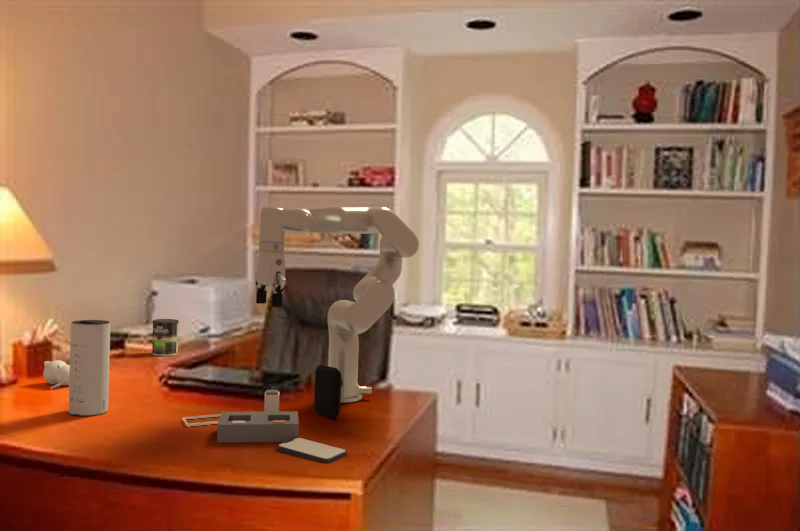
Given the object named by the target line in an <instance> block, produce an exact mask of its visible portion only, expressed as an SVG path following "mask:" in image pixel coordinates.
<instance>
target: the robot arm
mask: <svg viewBox="0 0 800 531" xmlns="http://www.w3.org/2000/svg"><path fill="white" fill-rule="evenodd" d="M259 220H260V221H259V236H258V238H259V239H258V261H257V269H256V270H257V272H256V274H255V275H254V278H255V286H256V287H255V290H256V294H255V295H256V297H255V303H256V305H257V304H260V305H261V304H262V305H263V304H266V303H267V295H268V294H267V292H268V290H267V287H271V289H272V293H271V308H281V307H282V306H283V294H284V290H285V286H286V284H287V283H286V282H287V281H286V260H285V259H286V258H285V242H286V241H285V240H286V233H288V234H289V233H291V234H303V233H321V234H322V233H324V234H331V235H351V234H353V235H354V234H355V235H359V234H360V235H363V234H364V235H365V234H366V235H368V234H371V235H372V234H380V236H381V238H380V240H379V259H378V261H377V263H376V265H374V267H373V268H372V269H371V270H370V271H369V272H367V274H366V275H365V276H364V277H362V279H360V280H359V282H357V283H356V284H355V287H354V288H353V291H352V296H353V299H354V300H355V301H353V300H352V301H351V300H348V299H341V300H337V301H335V302H334V303H333V302H332V305H331V306H330V307H329V308H328V311H327V317H326V318H327V327H328V328H327V329H328V365H327V366H330V367H334V368H337V369H338V370H339V371H340V373H341V376H342V380H343V386H341V401H340V404H342V403H346V404H347V403H355V402H358V401H361V400H362V397H363V395H362V394H372V391H373V390H372V388H373V387H371V386H370V387H369V386H368V387H367V385H365V386H360V385H359V383H358V375H359V374H358V372H359V350H360V344H359V343H360V341H359V335H360V334H363V333H365V332H366V331H367V330H369V329H370V328H371V327H373V325H374V324H375V323H377V321H378V320H379V319H380V318H381V317H382V316H383V315H384V314H385V313H386V312H387V310H389V308H390V307H391V306H392V304H393V302H394V301H395V300H394V299H395V289H394V286H393V285H394V284H395V283H396V282H397V281H398V279H399V278H400V276H401V273H402V269H403V259H406V258H411V257H413V256H414V255H416V254H417V252H418V250H419V246H420V245H419V243H420V242H419V239H418V237H417V236H416V234H415V233H414V231H413V230H411V228H410V227H409V226H407V224H406V223H405V222H404V221H403V220H402V219H401V218H400V217H399V216H398V215H397V213H395V212H394V211H393V210H391V209H390V208H387V207H386V206H385V207H384V206H382V207H381V206H380V207H379V206H378V207H373V206H371V207H368V206H367V207H366V206H365V207H360V206H359V207H358V206H357V207H354V206H345V207H344V206H336V207H325V208H300V207H298V208H297V207H294V208H282V207H277V206H264V207H262V208H261V210H260V215H259Z"/></svg>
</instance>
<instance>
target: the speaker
mask: <svg viewBox="0 0 800 531" xmlns="http://www.w3.org/2000/svg"><path fill="white" fill-rule="evenodd" d="M69 338H70V342H69V344H70V345H69V348H70V349H69V365H70V374H69V385H68V414H70V416H75V417H76V416H77V417H92V416H99V415H102V414H105V413H107V412H108V411H109V397H110V396H109V393H110V392H109V387H110V357H111V356H110V354H111V352H110V350H111V348H110V347H111V321H110V320H106V319H105V320H103V319H79V320H74V321H71V322H70V337H69Z"/></svg>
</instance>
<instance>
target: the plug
mask: <svg viewBox="0 0 800 531" xmlns="http://www.w3.org/2000/svg"><path fill="white" fill-rule="evenodd" d="M263 401H264V402H263V403H264V405H263V406H264V407H263V408H264V410H263V412H280V391H279V390H278V389H266V390H265V391H264V400H263Z"/></svg>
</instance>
